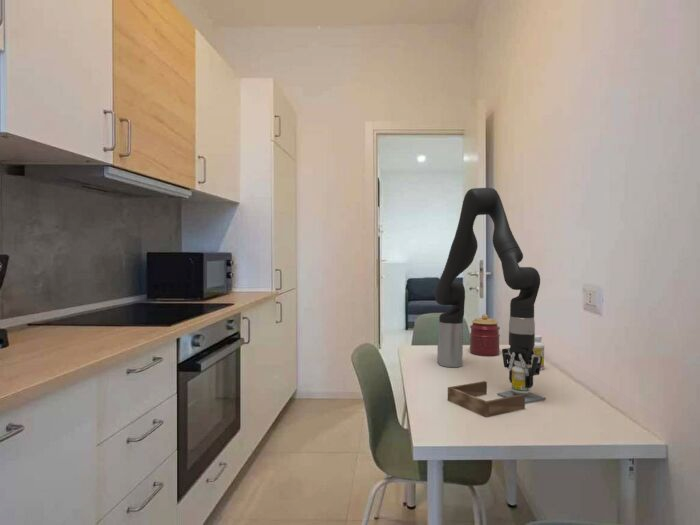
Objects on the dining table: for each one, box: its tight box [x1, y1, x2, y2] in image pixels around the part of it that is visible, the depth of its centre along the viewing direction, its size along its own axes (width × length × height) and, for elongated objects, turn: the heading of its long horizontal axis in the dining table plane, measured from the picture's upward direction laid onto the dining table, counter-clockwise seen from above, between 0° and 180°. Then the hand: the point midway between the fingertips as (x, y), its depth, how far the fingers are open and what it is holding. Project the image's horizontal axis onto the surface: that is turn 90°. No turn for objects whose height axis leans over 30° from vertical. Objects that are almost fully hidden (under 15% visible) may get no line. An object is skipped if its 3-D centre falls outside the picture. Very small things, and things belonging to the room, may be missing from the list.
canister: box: [469, 313, 501, 357], centre depth 205 cm, size 13×13×18 cm
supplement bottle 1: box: [511, 360, 531, 394], centre depth 142 cm, size 5×5×10 cm
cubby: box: [447, 380, 526, 418], centre depth 135 cm, size 16×15×4 cm
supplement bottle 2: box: [528, 334, 545, 371], centre depth 178 cm, size 7×7×13 cm
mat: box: [496, 389, 547, 405], centre depth 142 cm, size 10×10×1 cm
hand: (520, 384), depth 142 cm, fingers closed on supplement bottle 1, 5 cm apart
